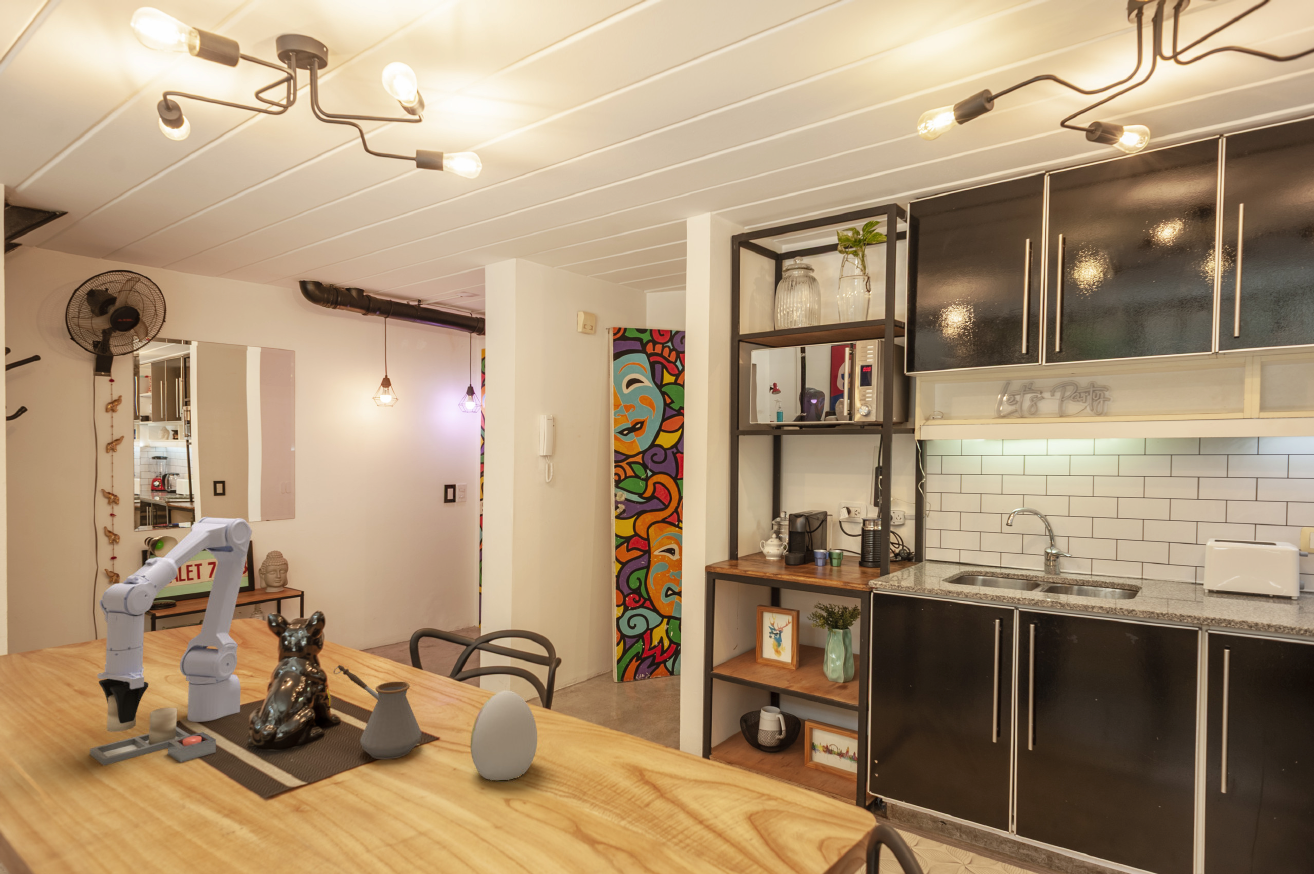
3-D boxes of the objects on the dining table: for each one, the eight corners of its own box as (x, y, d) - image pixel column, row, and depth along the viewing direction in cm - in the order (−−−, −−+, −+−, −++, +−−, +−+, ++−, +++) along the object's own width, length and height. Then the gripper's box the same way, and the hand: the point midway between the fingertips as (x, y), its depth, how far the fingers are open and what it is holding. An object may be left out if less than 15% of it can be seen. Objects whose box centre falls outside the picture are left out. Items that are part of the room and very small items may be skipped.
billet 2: (171, 735, 146) (173, 705, 146) (178, 742, 143) (180, 711, 143) (145, 741, 143) (147, 711, 143) (151, 748, 140) (153, 717, 140)
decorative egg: (513, 752, 144) (514, 677, 144) (549, 772, 135) (551, 692, 136) (457, 770, 135) (459, 690, 136) (492, 793, 127) (494, 707, 127)
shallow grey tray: (175, 737, 148) (176, 726, 148) (191, 746, 144) (191, 735, 144) (89, 760, 137) (90, 748, 137) (103, 771, 132) (103, 759, 132)
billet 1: (130, 721, 141) (132, 690, 141) (139, 726, 138) (140, 695, 138) (103, 727, 137) (104, 696, 137) (111, 733, 134) (112, 701, 135)
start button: (197, 747, 140) (197, 734, 140) (203, 751, 138) (204, 738, 138) (179, 752, 138) (180, 739, 138) (186, 756, 136) (186, 743, 136)
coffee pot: (433, 746, 146) (435, 672, 146) (390, 768, 136) (392, 688, 136) (357, 727, 155) (359, 657, 156) (311, 746, 145) (313, 671, 145)
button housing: (202, 749, 142) (202, 731, 142) (215, 757, 139) (215, 739, 139) (167, 759, 138) (168, 741, 138) (180, 768, 134) (180, 749, 134)
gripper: (86, 644, 139) (84, 715, 139) (112, 658, 130) (109, 734, 130) (130, 637, 145) (127, 705, 144) (157, 650, 136) (155, 722, 136)
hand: (122, 718), depth 138 cm, fingers closed on billet 1, 4 cm apart
